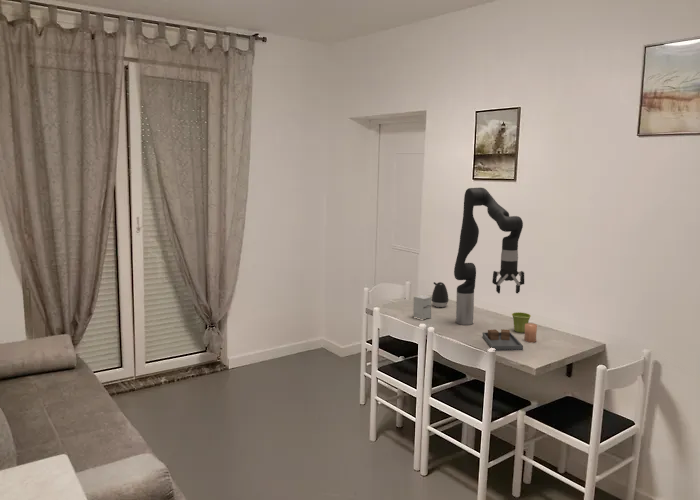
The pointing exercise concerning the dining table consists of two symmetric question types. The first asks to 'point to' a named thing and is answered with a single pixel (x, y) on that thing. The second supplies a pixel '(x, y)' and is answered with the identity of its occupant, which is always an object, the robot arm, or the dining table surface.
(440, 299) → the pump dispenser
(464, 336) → the dining table surface
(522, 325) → the plant pot
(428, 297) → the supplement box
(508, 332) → the walnut block
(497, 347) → the tray
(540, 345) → the dining table surface
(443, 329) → the dining table surface
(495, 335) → the walnut block
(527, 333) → the cylinder block
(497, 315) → the dining table surface
